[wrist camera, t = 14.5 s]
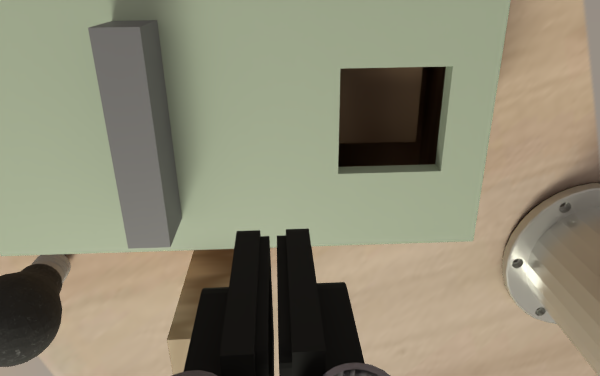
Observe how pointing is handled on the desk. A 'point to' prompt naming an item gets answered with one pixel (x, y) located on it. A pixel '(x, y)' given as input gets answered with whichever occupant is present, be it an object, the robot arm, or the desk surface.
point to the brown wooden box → (389, 115)
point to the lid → (230, 122)
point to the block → (196, 298)
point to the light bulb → (31, 308)
